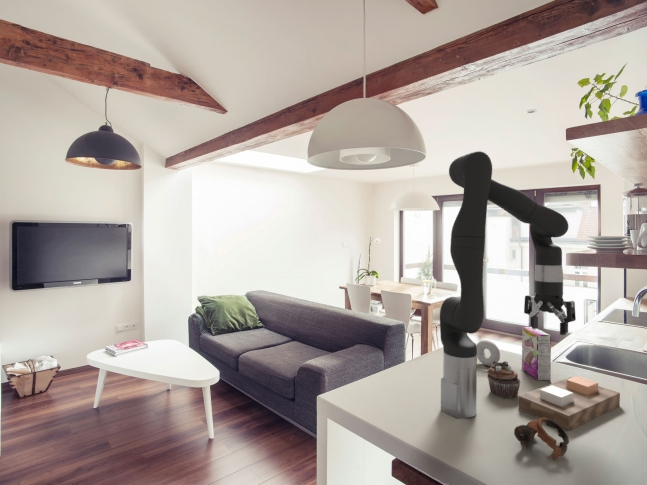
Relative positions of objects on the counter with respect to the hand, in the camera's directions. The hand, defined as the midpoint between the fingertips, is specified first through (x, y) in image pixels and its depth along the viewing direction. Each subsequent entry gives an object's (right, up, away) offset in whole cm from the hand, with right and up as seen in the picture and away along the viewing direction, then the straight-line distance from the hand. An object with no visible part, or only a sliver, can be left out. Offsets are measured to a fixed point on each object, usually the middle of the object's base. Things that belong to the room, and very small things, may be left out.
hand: (548, 331), depth 116 cm
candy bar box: (+8, -21, +21) cm, 31 cm away
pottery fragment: (-17, -23, -25) cm, 38 cm away
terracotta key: (+10, -18, -1) cm, 21 cm away
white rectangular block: (-2, -19, -7) cm, 20 cm away
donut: (-5, -21, +31) cm, 38 cm away
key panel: (+4, -22, -4) cm, 23 cm away
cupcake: (-11, -22, +6) cm, 25 cm away
